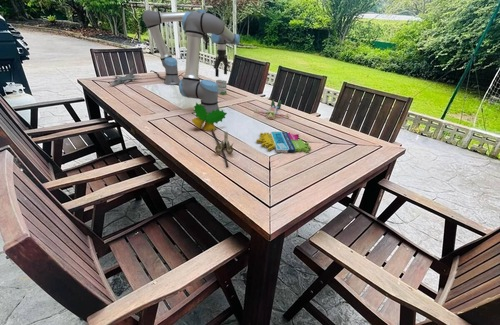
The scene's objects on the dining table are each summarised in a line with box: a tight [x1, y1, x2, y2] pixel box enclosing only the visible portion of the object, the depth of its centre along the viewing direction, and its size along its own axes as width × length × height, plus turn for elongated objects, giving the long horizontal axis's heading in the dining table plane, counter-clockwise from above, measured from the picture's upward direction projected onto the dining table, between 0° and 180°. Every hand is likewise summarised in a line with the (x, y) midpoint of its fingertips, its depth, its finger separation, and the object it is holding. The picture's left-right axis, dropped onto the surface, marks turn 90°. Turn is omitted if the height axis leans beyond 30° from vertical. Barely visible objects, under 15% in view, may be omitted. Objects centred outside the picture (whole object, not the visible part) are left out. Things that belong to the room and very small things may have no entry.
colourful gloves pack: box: [256, 131, 312, 154], centre depth 152 cm, size 26×2×30 cm
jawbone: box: [214, 131, 234, 156], centre depth 136 cm, size 9×15×10 cm
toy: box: [252, 99, 291, 120], centre depth 197 cm, size 28×7×30 cm
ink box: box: [215, 79, 228, 96], centre depth 236 cm, size 9×5×12 cm, turn 62°
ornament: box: [191, 102, 228, 132], centre depth 162 cm, size 21×8×15 cm, turn 105°
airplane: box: [109, 67, 143, 87], centre depth 251 cm, size 38×32×10 cm
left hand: (202, 50), depth 272 cm, fingers open, 13 cm apart
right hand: (221, 75), depth 231 cm, fingers open, 13 cm apart
